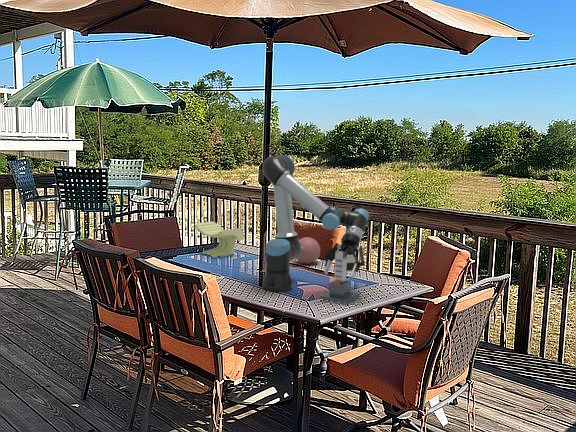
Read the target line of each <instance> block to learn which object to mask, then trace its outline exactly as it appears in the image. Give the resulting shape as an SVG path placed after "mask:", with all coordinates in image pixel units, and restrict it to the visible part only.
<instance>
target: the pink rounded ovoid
mask: <svg viewBox="0 0 576 432" xmlns="http://www.w3.org/2000/svg"><path fill="white" fill-rule="evenodd" d="M298 240H299V241H300V243H301V252H300V254H299V255H298V257H297V258H295V259H296V260H297V261H298V262H300V263H301V264H306V265H310V264H312V263H314V262H315V263H316V261H317V260H318V258H319V257H320V255H321V246H320V244H319V242H318V241H317V240H316V239H314V238H312V237H309V236H305V237H302V238H300V239H298Z"/></svg>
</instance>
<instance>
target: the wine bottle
mask: <svg viewBox="0 0 576 432" xmlns="http://www.w3.org/2000/svg"><path fill="white" fill-rule="evenodd" d="M348 228H349V227H347V226H345V233H344V234H343V236H342V237H341V239H340V245H342V244H343V240H344V238H345V235H346V233H347V230H348ZM355 254H356V255H357V251H356V252H355ZM355 263H356V264H357V262H356V260H355V258H354V256H353V254H352V255H348V254H347V267H346V271H352V270H353V268H354V265H355Z"/></svg>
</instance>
